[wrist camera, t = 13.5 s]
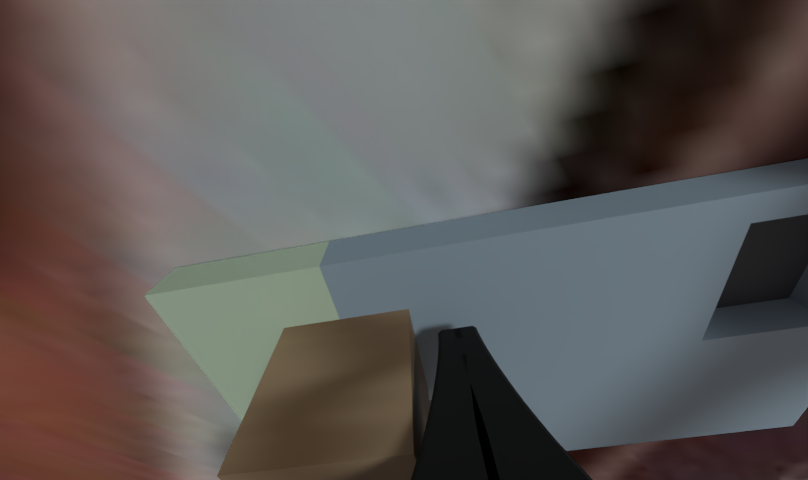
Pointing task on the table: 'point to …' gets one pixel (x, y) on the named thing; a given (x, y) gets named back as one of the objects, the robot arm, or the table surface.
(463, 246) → the board
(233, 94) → the table surface
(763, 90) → the table surface
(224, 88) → the table surface
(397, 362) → the walnut block
